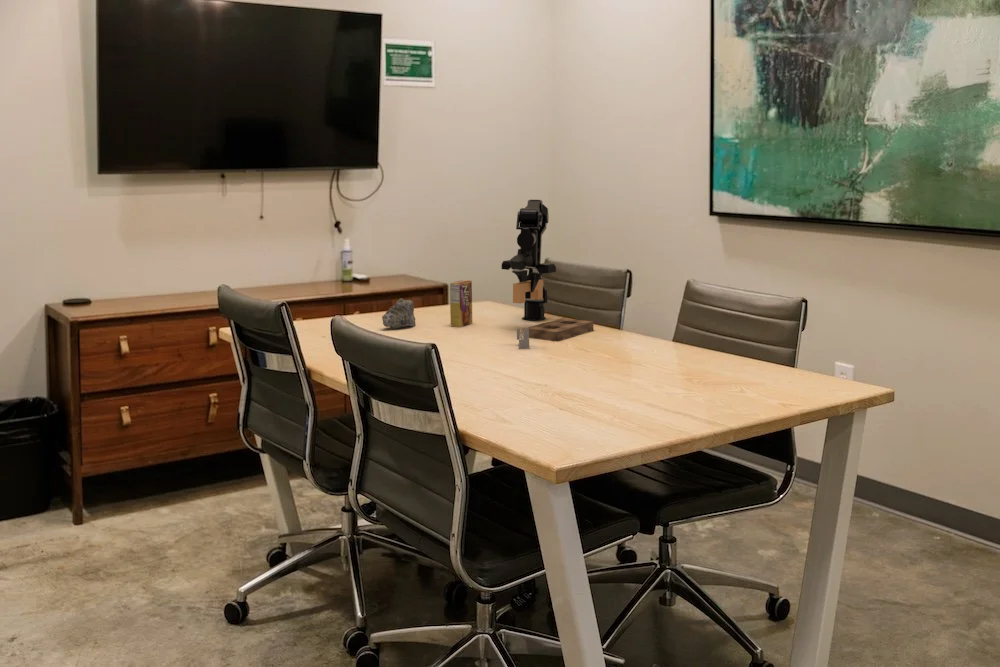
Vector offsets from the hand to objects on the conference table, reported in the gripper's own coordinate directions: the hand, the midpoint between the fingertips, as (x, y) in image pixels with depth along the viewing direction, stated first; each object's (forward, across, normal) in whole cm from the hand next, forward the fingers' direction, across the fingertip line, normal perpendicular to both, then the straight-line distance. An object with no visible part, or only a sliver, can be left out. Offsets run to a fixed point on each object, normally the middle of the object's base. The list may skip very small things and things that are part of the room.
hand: (528, 291), depth 350 cm
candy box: (+13, -23, -7) cm, 27 cm away
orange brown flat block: (+3, 0, 0) cm, 3 cm away
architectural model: (+14, +11, -28) cm, 33 cm away
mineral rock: (+13, -38, -24) cm, 46 cm away
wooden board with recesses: (+13, +13, 0) cm, 18 cm away
